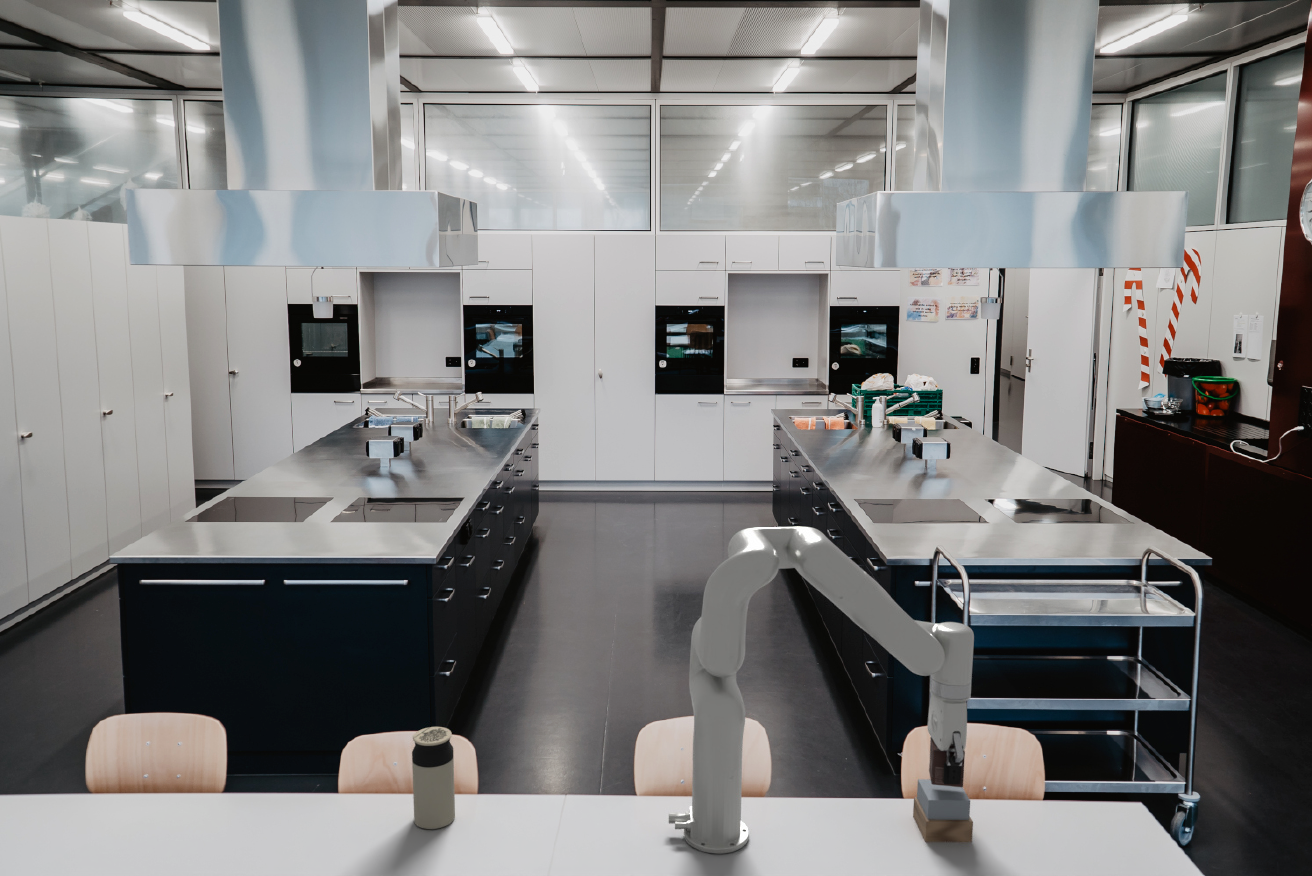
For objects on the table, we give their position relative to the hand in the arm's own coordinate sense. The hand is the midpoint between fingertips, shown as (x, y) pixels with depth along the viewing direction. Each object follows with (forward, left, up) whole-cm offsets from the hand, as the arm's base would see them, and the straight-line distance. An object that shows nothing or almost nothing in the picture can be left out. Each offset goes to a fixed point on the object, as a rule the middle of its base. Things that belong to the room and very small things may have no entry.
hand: (945, 772), depth 186 cm
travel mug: (-101, +2, -12) cm, 102 cm away
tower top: (0, 0, -8) cm, 8 cm away
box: (0, 0, -2) cm, 2 cm away
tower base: (0, 0, -12) cm, 12 cm away
